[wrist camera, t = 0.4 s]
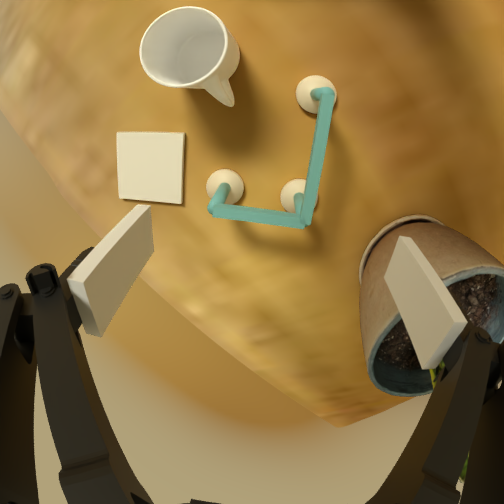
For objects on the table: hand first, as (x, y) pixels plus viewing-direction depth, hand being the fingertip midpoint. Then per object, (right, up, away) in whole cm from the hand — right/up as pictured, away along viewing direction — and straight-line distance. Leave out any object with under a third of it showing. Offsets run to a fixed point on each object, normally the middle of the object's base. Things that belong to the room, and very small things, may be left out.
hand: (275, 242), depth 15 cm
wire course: (+1, +14, +21) cm, 25 cm away
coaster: (-15, +12, +23) cm, 30 cm away
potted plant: (+23, -1, +28) cm, 36 cm away
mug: (-6, +22, +16) cm, 28 cm away
